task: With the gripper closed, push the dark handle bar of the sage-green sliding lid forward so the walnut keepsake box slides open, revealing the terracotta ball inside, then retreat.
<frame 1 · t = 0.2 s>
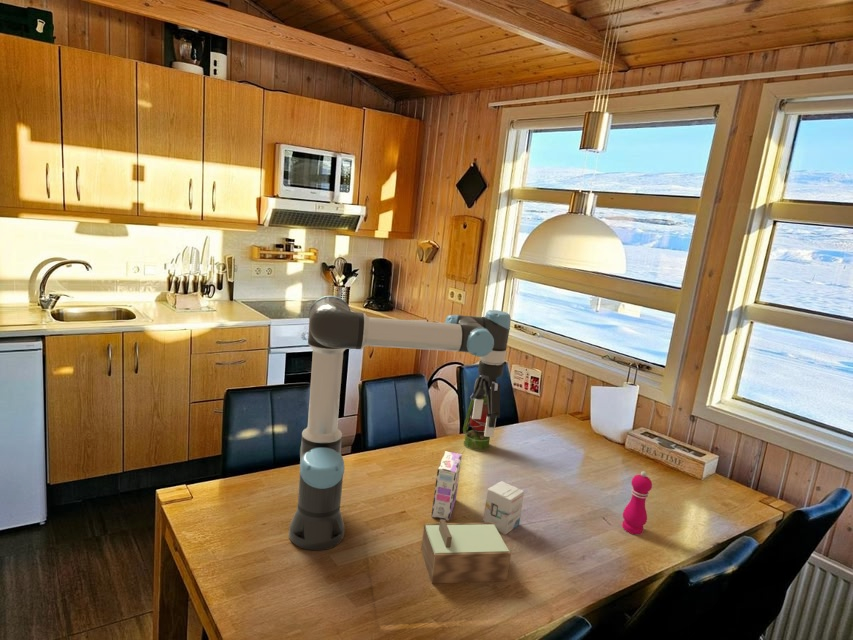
hand: (482, 427, 175), 28 cm above the table, fingers open, 13 cm apart
lantern: (476, 445, 229), on the table
keepsake box: (462, 566, 151), on the table
ink box: (500, 524, 174), on the table
pepper mill: (632, 529, 179), on the table
terracotta ball: (444, 565, 149), point 1 cm above the table, touching keepsake box
candy box: (443, 509, 179), on the table
lid: (466, 534, 149), point 10 cm above the table, slide at 0.0 cm
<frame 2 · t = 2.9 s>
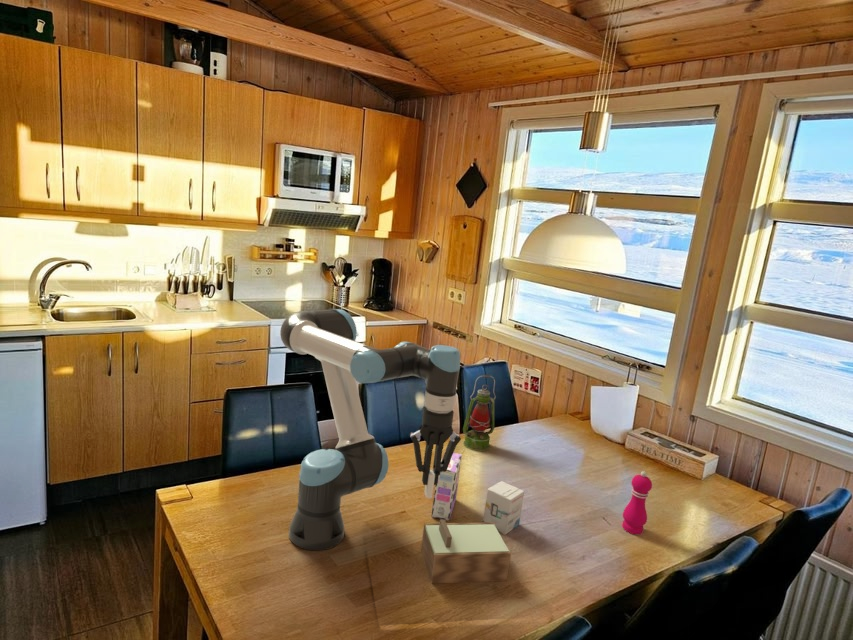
hand: (428, 495, 143), 21 cm above the table, fingers closed
nothing on the table moved.
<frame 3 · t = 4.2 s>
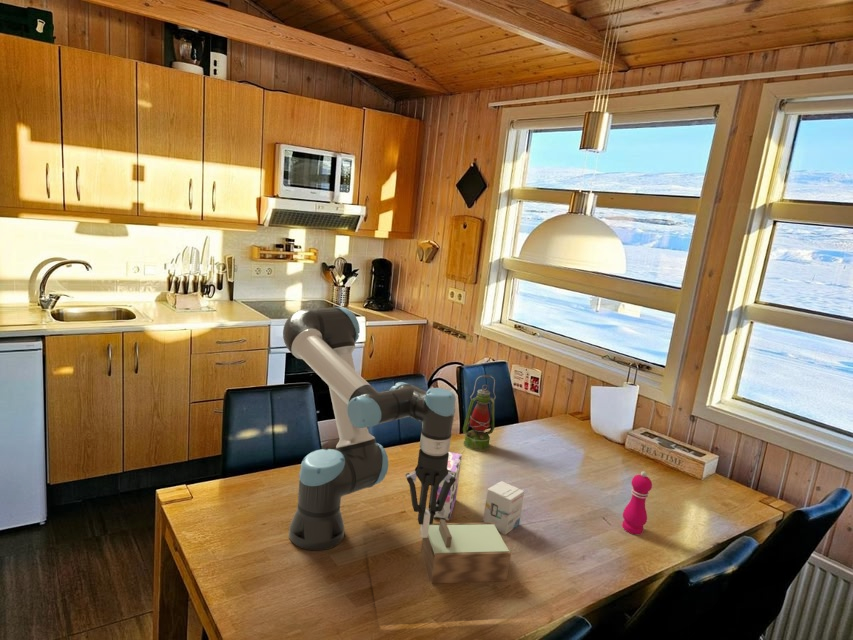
hand: (423, 534, 146), 10 cm above the table, fingers closed
nothing on the table moved.
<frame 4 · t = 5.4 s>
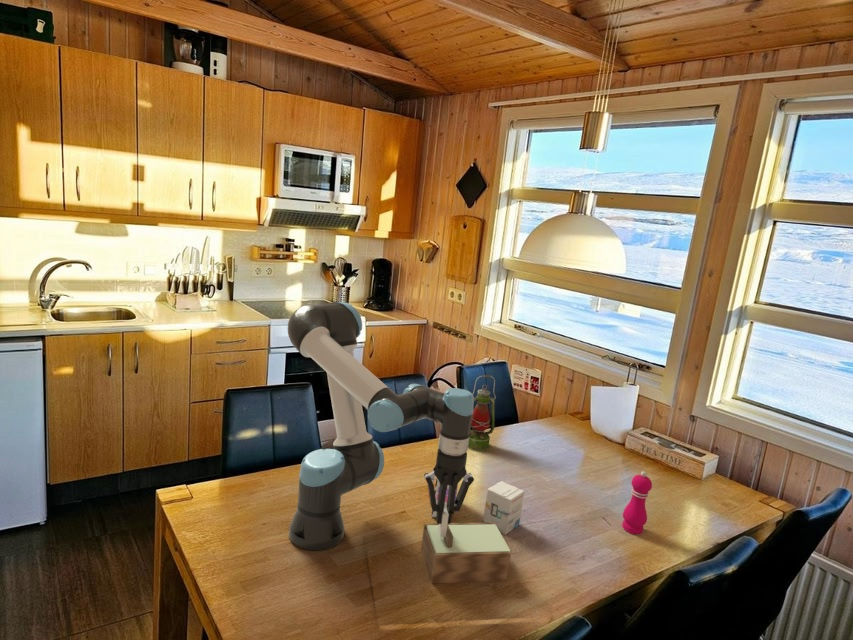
hand: (441, 534, 147), 10 cm above the table, fingers closed
lid: (468, 534, 149), point 10 cm above the table, slide at 0.4 cm, touching gripper
everything else where it was.
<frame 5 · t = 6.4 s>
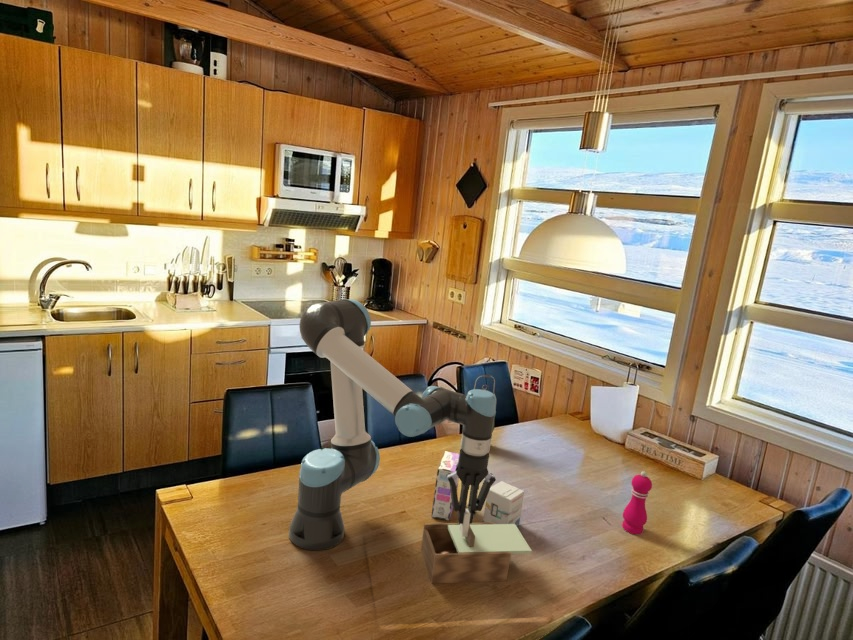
hand: (463, 533, 148), 10 cm above the table, fingers closed
lid: (489, 533, 150), point 10 cm above the table, slide at 6.3 cm, touching gripper
everything else where it was.
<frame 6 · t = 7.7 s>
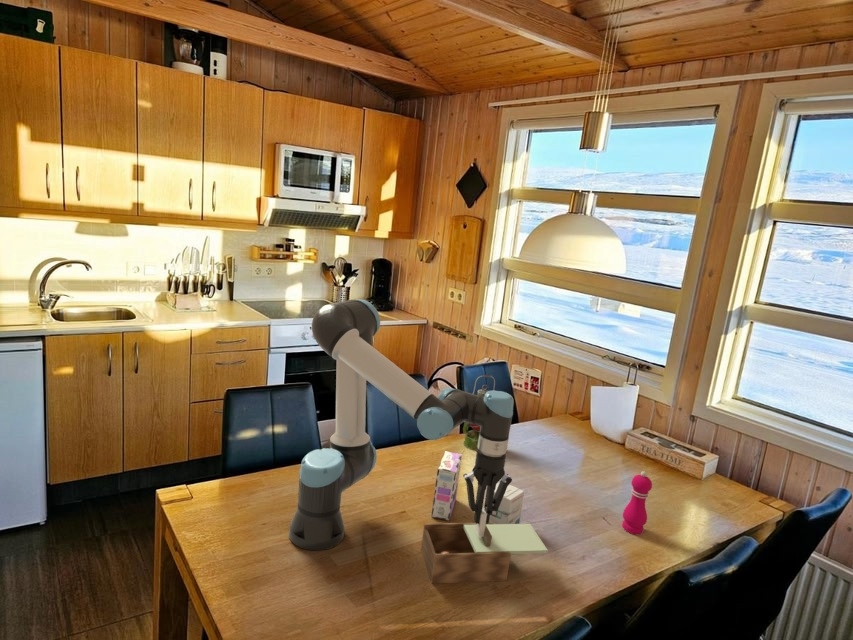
hand: (479, 533, 149), 10 cm above the table, fingers closed
lid: (505, 533, 151), point 10 cm above the table, slide at 10.8 cm
everything else where it was.
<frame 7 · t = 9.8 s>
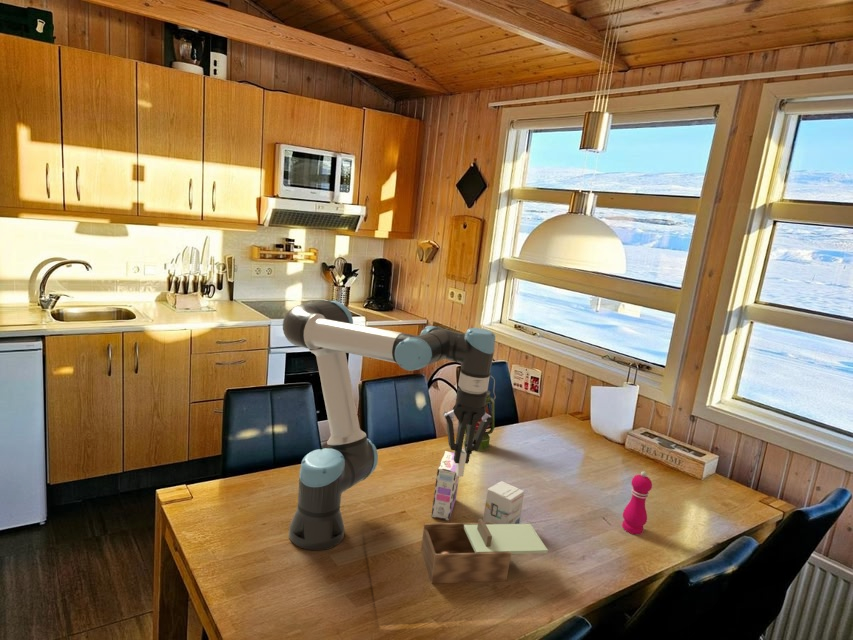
hand: (459, 473, 148), 25 cm above the table, fingers closed
nothing on the table moved.
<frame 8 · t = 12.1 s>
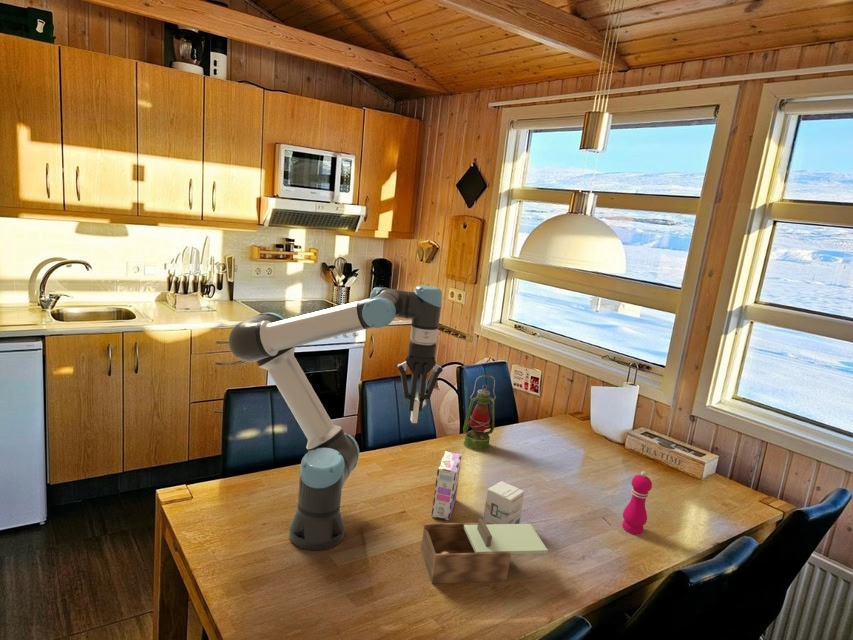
hand: (413, 421, 161), 32 cm above the table, fingers closed
nothing on the table moved.
at the end: lid slide at 10.8 cm; lid touching nothing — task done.
